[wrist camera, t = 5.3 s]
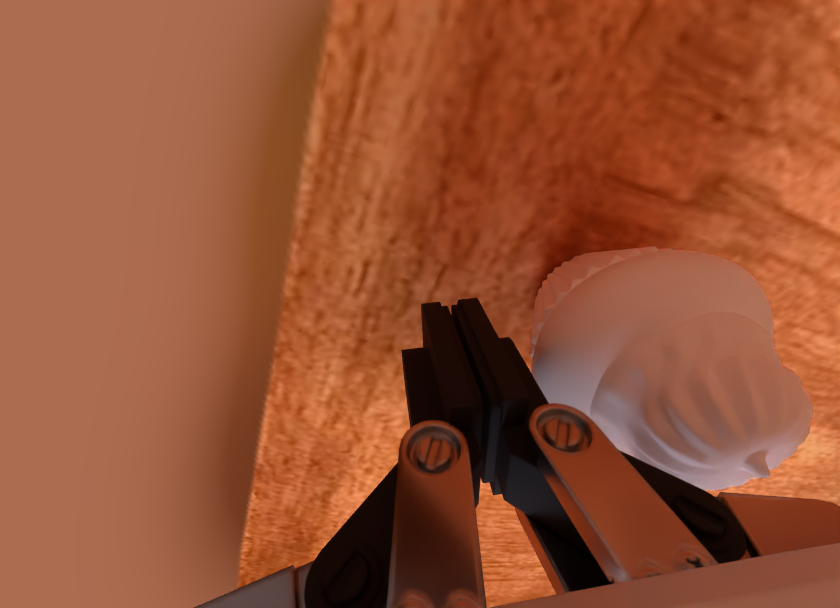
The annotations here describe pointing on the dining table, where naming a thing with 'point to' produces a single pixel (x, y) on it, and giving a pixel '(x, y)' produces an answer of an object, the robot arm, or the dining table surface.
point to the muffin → (670, 362)
